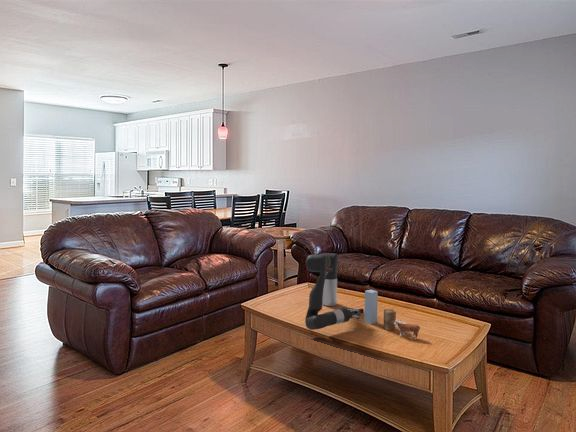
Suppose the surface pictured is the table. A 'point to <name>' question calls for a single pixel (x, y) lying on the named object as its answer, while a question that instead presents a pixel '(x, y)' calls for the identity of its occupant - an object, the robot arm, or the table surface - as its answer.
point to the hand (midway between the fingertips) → (362, 310)
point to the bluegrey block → (371, 306)
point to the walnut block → (389, 319)
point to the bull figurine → (407, 328)
